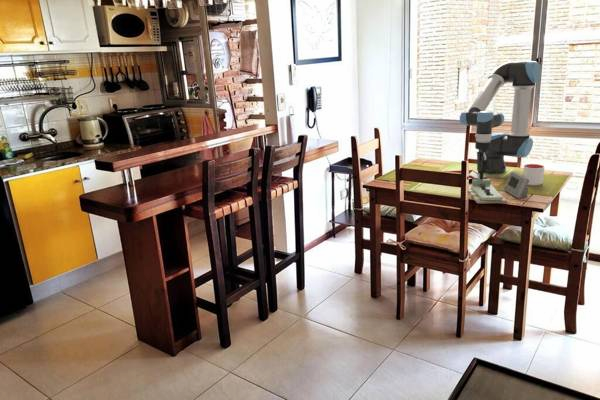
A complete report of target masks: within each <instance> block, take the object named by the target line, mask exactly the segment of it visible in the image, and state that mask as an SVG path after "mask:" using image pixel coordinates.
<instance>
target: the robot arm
mask: <svg viewBox="0 0 600 400" xmlns="http://www.w3.org/2000/svg"><path fill="white" fill-rule="evenodd" d="M541 74H542V73H541V67H540V64H539V62H537V61H535V60H522V61H521V60H518V61H517V60H516V61H512V60H511V61H507V62H503V63H502V64H500V65H499V66H497V67H496V68H495V69H493V70H492V72H491V73H490V74H489V75H488V78H487V82H486V83H485V85H484V86H483V88H482V90H481V91H480V92H479V94H478V96H477V97H476V99H475V100H474V102H473V104H472V105H471V106H470V107H469V109H468V111H467V110H466V111H462V112H461V113H460V115H459V122H460V124H461V125H463V126H469V127H470V126H471V127H472V126H473V127H476V131H475V132H476V133H475V135H474V137H475V149H476V150H478V151H477V152H476V163H477V164H476V165H477V166H476V170H477V180H485V178H484V177H485V173H486V174H503V173H505V172H506V171H507V166H506V162H505V159H504V157H505V156H506V157H513V158H523V159H524V158H526V157H528V156H529V155H530V152H531V151H532V149H533V144H534V141H533V138H531V136H530V133H529V132H528V126H529V125H528V124H529V116H530V108H531V106H530V105H531V99H532V98H531V97H532V89H533V88H535V86H536V84H537V83H538V82H539V81H540V78H541V76H542V75H541ZM507 83H512V88H513V89H514V96H513V106H512V116H511V127H510V131H509V132H508V133H507V134H506V132H494V133H493V132H492V131H493V128H497V127H500V126H502V125H503V123H504V122H505V116H504V114H503V113H502V112H500V111H494V112H493V111H491V110H486V109H487V108H488V107H489V105H490V103H491V102H492V101H493V100H494V97H495V96H496V94H497V93H498V91H499V90H500V88H503V87H504V85H505V84H507Z"/></svg>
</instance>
